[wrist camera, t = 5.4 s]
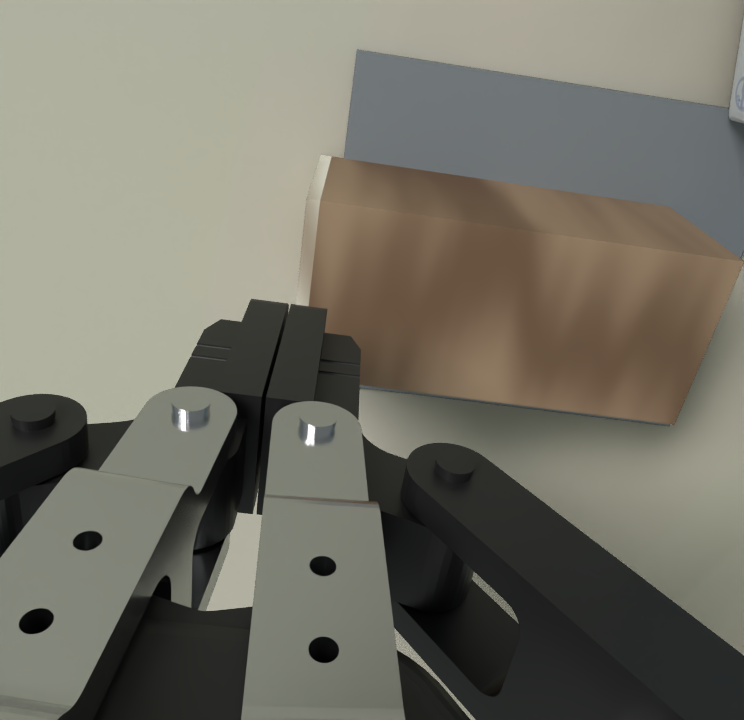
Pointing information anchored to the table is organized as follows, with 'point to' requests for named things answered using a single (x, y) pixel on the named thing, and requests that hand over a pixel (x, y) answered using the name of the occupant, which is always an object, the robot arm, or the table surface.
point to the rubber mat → (550, 141)
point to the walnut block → (512, 289)
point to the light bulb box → (738, 85)
